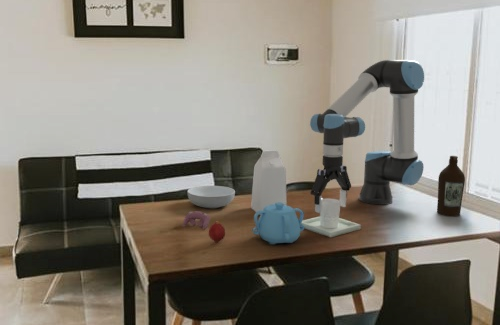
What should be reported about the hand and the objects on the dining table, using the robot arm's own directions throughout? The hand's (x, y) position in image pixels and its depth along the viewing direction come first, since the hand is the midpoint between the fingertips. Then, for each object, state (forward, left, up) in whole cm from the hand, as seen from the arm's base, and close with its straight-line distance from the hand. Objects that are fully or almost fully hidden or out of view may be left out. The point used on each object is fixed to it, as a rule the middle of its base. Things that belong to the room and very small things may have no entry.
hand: (330, 209), depth 209 cm
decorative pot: (+26, -1, -8) cm, 27 cm away
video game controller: (+42, -30, -8) cm, 52 cm away
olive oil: (-57, +16, -8) cm, 60 cm away
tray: (0, 0, -7) cm, 7 cm away
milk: (+4, -32, -8) cm, 33 cm away
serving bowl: (+20, -52, -8) cm, 56 cm away
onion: (+46, -11, -8) cm, 48 cm away
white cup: (0, 0, -7) cm, 7 cm away
